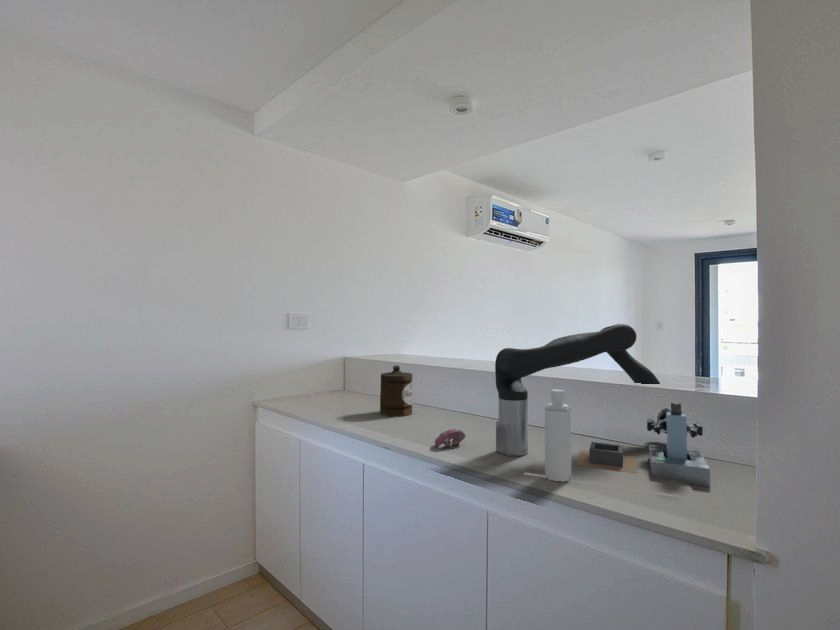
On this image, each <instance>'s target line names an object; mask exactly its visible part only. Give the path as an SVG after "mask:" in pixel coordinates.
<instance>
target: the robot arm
mask: <svg viewBox="0 0 840 630" xmlns="http://www.w3.org/2000/svg"><path fill="white" fill-rule="evenodd" d="M636 341H637V333H636V330H635V329H634V328H633V326H631V325H628V324H627V323H626V324H625V323H616V324H614V325H610V326H606V327H603V328H602V329H600V330H599V331H592V332H584V333H583V332H582V333H577V334H570V335H565V336H562V337H559V338H555V339H553V340H551V341H549V342H547V343H546V344H545V345H542V346H538V347H531V348H523V349H522V348H521V349H520V348H512V347H506V348H503V349H501V350H500V351H499V352H498V353H497V355H496V358H495V363H494V364H495V365H494V366H495V367H494V368H495V369H494V370H495V371H494V372H495V388H496V389H497V392H498V393H497V396H498V421H496V422H495V450H496V452H498V453H500V454H502V455H505V456H507V457H510V456H513V457H516V456H517V457H518V456H525V455H527V454H528V453H529V448H528V447H529V443H528V442H529V439H528V438H529V429H528V427H529V426H528V425H529V422H528V421H529V420H528V418H529V416H528V415H529V414H528V413H529V408H528V407H529V406H528V405H529V404H528V401H529V400H528V395H529V394H528V390H527V388H526V387H525V386H524V384H523V382H522V378H525V377H528V376H530V375H532V374H536V373H538V372H540V371H543V370H547V369H551V368H557V367H562V366H567V365H571V364H575V363H578V362H581V361H584V360H589V359H591V358H593V357H595V356H598V355H601V354H604V353H606V354H607V355H608V356H609V357H610V358H612V360H613V361H615V362H616V364H617V365H618V366H619V367H620V368H621V369H622V370H623V371H624V372H625V373H626V374H627V376H629V378H630V379H631V380H632V382H633V383H634V384H635V383H641V384H660V383H661V382H660V381H659V379H658V378H657V377H656V375H655V374H654V373H653V372H652V370H650V369H649V368H648V367H647V366H646V365H644V364H642V363H641V362H639V361H638V360H637V359H635V358H634V357H633V356H632V354H630V352H628V350H629V349H630V348H632V347H633V346H634V345H635V343H636ZM666 412H670V413H671V408H665V409H662V410H661V411H660V412H659V413H658V416H657V422H656V421H655V420H654V419H653V418H647V421H646V431H648V432H651V431H652V430H653V431H654V433H656V434H657V435H661V433H664V434H666V435H667V428H666ZM686 427H687V435H688V436H689V435H690V437H691V438H696V437H698V436H700V437H701V436H703V435H704V432H703V431H704V430H703V428H704V427H703V426H702V424H700V423H699V422H694V423H693V424H691V423H690V422H687V421H686Z"/></svg>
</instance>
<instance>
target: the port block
mask: <svg viewBox="0 0 840 630" xmlns="http://www.w3.org/2000/svg"><path fill="white" fill-rule="evenodd" d="M648 459H649V465H650V472H651V477H653V478H661V479H669V480H676V481H683V482H688V483H689V484H690V485H695V486H703V487H711V468H710V466H709V465H708V463H707V461H706V460H705V459H706V458H705V457H704V455H703V453H702V452H701V450H700V449H692V448H687V460H683V459H675V458H667V445H665V446H663V445H655V444H648Z"/></svg>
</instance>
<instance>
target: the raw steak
mask: <svg viewBox="0 0 840 630" xmlns="http://www.w3.org/2000/svg"><path fill="white" fill-rule="evenodd" d="M465 438H466V434H465V432H464V431H463V430H461V429H460V428H458V429H457V428H450V429H448V430H446V431H445V430H444V431H442V432H441V433H440V434H439V435H438V436H437V437H436V438H435V440H434V445H435V446H436V447H440V446H441V445H443V446H445V447H446V446H448V447H450V446H451V444H452V445H453V446H454V445H455V446H458V444H459V443H461V442H462V441H464V439H465Z"/></svg>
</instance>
